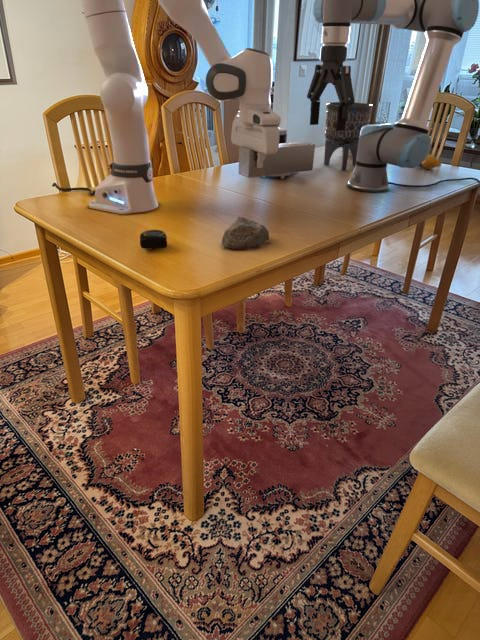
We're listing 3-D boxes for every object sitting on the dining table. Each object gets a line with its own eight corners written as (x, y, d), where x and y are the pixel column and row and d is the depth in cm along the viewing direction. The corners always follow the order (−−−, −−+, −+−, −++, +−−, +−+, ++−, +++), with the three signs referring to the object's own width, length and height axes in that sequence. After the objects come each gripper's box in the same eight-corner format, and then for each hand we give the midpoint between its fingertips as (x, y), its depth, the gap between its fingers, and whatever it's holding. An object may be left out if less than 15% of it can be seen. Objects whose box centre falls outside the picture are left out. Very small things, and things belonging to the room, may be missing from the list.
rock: (255, 233, 128) (256, 211, 124) (276, 242, 122) (278, 219, 119) (217, 244, 120) (217, 220, 117) (239, 254, 115) (239, 230, 111)
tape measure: (140, 252, 115) (139, 238, 113) (141, 242, 120) (140, 229, 119) (167, 251, 116) (166, 237, 114) (167, 241, 121) (166, 228, 120)
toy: (415, 162, 205) (409, 155, 218) (417, 175, 208) (411, 168, 221) (441, 154, 202) (433, 147, 215) (443, 168, 205) (435, 160, 218)
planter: (313, 167, 208) (319, 103, 195) (331, 160, 222) (338, 101, 209) (353, 173, 199) (362, 107, 185) (369, 166, 213) (379, 104, 199)
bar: (301, 166, 149) (304, 141, 145) (312, 170, 145) (315, 144, 141) (238, 173, 138) (239, 146, 134) (248, 177, 134) (249, 149, 130)
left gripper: (226, 111, 135) (225, 159, 142) (265, 119, 120) (262, 173, 127) (244, 110, 138) (242, 158, 145) (284, 118, 123) (280, 171, 130)
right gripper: (299, 45, 134) (294, 122, 145) (351, 44, 115) (341, 134, 126) (320, 45, 137) (313, 121, 148) (375, 45, 117) (363, 132, 128)
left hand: (252, 165), depth 136 cm, fingers closed on bar, 5 cm apart
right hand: (326, 127), depth 137 cm, fingers open, 13 cm apart
